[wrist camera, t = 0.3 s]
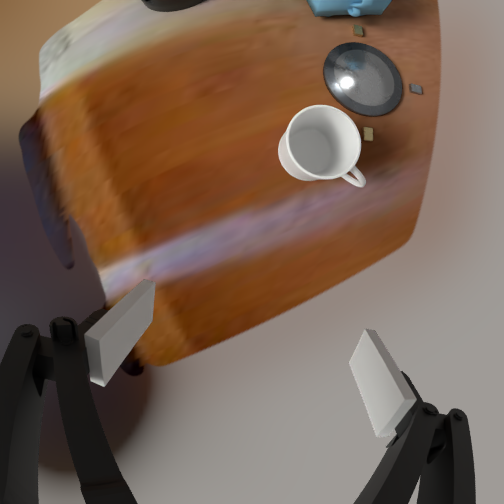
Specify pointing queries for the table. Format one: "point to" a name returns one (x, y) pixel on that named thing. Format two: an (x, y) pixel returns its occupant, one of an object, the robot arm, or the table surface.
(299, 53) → the table surface
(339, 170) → the mug
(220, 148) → the table surface
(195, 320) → the table surface
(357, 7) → the teapot
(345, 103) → the socket pad
